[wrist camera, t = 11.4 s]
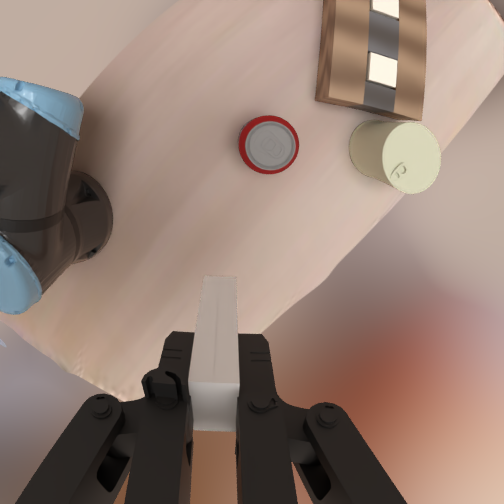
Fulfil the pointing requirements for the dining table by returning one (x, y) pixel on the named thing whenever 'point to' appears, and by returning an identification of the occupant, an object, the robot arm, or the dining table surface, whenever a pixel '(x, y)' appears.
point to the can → (396, 154)
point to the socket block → (379, 42)
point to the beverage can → (268, 144)
